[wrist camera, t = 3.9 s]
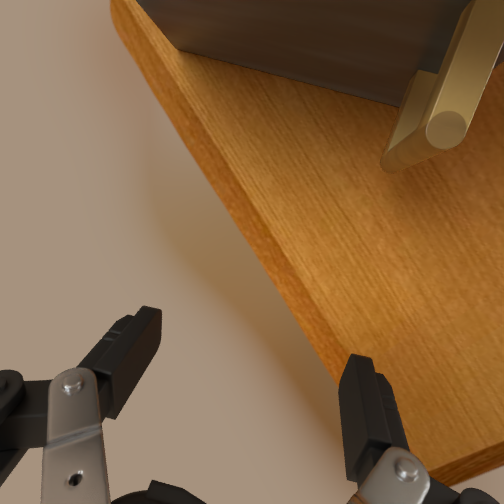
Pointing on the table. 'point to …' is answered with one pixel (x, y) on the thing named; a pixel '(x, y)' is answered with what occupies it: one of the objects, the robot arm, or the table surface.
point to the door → (359, 55)
